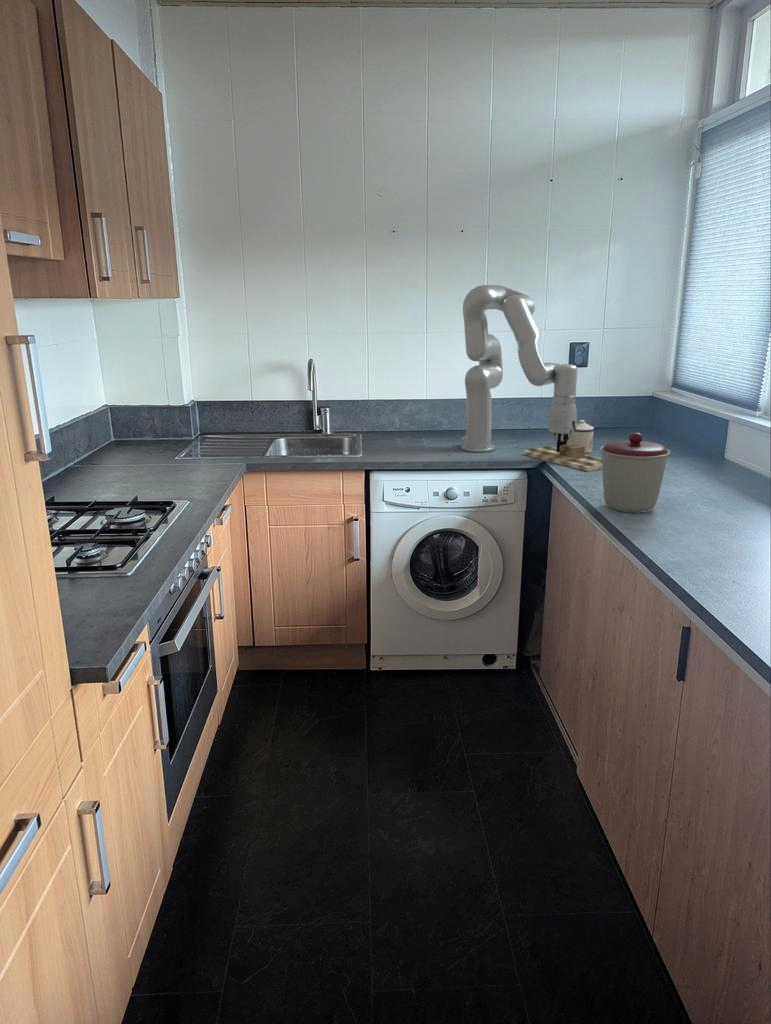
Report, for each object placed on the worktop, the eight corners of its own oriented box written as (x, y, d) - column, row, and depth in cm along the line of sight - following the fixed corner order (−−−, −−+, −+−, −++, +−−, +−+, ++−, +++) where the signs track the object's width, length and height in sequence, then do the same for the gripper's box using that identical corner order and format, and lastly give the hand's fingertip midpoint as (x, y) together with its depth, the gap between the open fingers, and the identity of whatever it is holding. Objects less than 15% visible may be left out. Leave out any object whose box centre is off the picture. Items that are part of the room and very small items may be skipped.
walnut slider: (559, 456, 257) (560, 445, 256) (571, 454, 260) (572, 443, 259) (571, 459, 252) (572, 448, 251) (584, 457, 255) (584, 446, 254)
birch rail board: (523, 454, 269) (524, 447, 268) (548, 450, 274) (548, 444, 274) (587, 471, 242) (588, 464, 241) (613, 467, 248) (613, 459, 247)
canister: (679, 513, 196) (687, 436, 190) (623, 520, 190) (630, 441, 184) (634, 496, 212) (641, 425, 206) (582, 503, 206) (587, 429, 200)
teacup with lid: (595, 453, 268) (597, 422, 265) (570, 454, 269) (572, 422, 265) (587, 447, 280) (589, 417, 277) (563, 447, 280) (565, 417, 277)
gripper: (541, 398, 259) (539, 449, 264) (571, 403, 247) (568, 456, 252) (557, 397, 263) (554, 447, 268) (587, 402, 250) (584, 454, 256)
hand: (561, 451), depth 260 cm, fingers closed
